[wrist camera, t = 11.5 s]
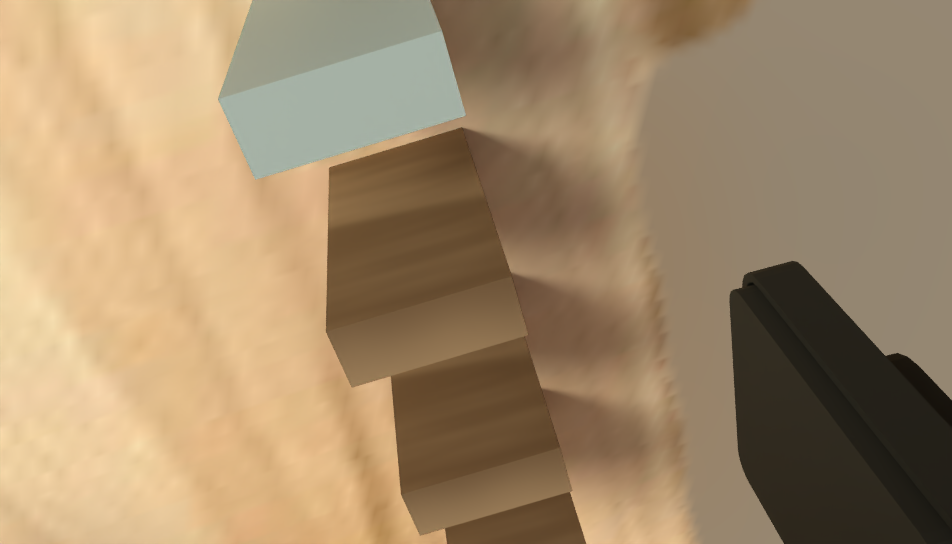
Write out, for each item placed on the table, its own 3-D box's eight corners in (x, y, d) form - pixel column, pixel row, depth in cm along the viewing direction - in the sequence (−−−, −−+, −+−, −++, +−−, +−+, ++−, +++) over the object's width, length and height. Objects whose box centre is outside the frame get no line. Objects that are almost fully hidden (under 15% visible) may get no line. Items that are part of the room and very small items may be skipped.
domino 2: (475, 175, 30) (528, 335, 22) (347, 214, 30) (351, 387, 22) (461, 127, 29) (511, 276, 21) (329, 167, 29) (325, 331, 21)
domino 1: (425, 3, 27) (465, 115, 18) (280, 47, 27) (255, 179, 18) (407, -59, 26) (442, 30, 17) (257, -12, 26) (218, 99, 17)
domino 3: (514, 309, 34) (572, 491, 26) (399, 343, 34) (419, 535, 26) (503, 271, 33) (560, 447, 24) (384, 306, 33) (401, 494, 24)
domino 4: (546, 419, 37) (605, 609, 29) (442, 449, 38) (471, 647, 29) (536, 387, 36) (596, 576, 28) (430, 419, 36) (457, 616, 28)
